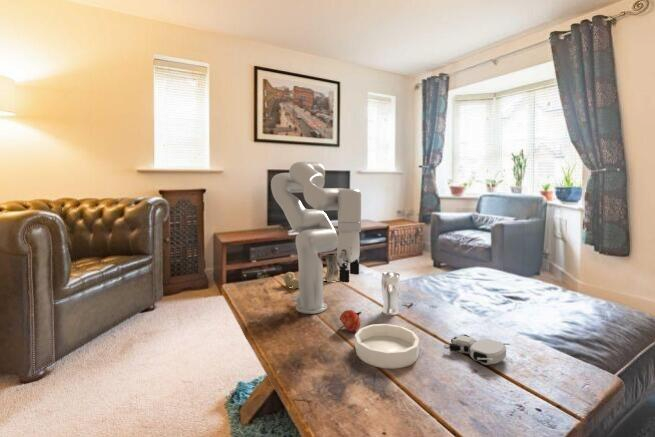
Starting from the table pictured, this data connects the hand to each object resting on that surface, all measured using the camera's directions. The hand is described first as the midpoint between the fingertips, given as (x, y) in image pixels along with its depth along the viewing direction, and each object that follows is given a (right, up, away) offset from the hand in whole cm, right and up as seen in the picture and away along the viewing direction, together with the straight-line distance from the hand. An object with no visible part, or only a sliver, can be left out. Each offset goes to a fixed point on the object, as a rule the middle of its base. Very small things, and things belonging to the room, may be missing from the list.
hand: (349, 277), depth 109 cm
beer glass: (+17, -17, +17) cm, 29 cm away
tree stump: (-5, -12, +61) cm, 62 cm away
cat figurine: (-24, -14, +49) cm, 57 cm away
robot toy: (+35, -20, -15) cm, 43 cm away
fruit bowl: (+10, -20, -12) cm, 25 cm away
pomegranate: (0, -18, +2) cm, 19 cm away
